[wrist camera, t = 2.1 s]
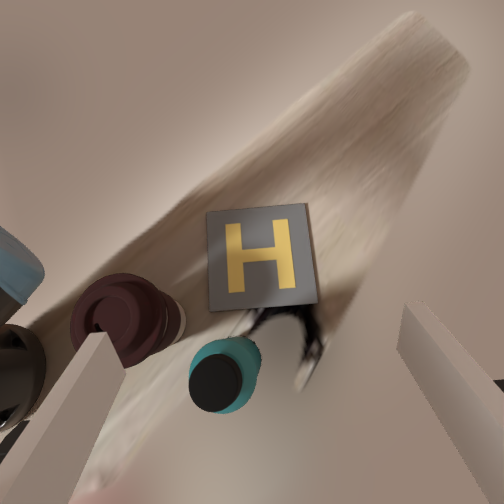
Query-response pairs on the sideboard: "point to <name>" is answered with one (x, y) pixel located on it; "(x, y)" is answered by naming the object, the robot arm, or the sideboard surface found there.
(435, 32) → the sideboard surface
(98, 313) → the coffee cup
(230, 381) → the beverage bottle
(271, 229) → the letter board
